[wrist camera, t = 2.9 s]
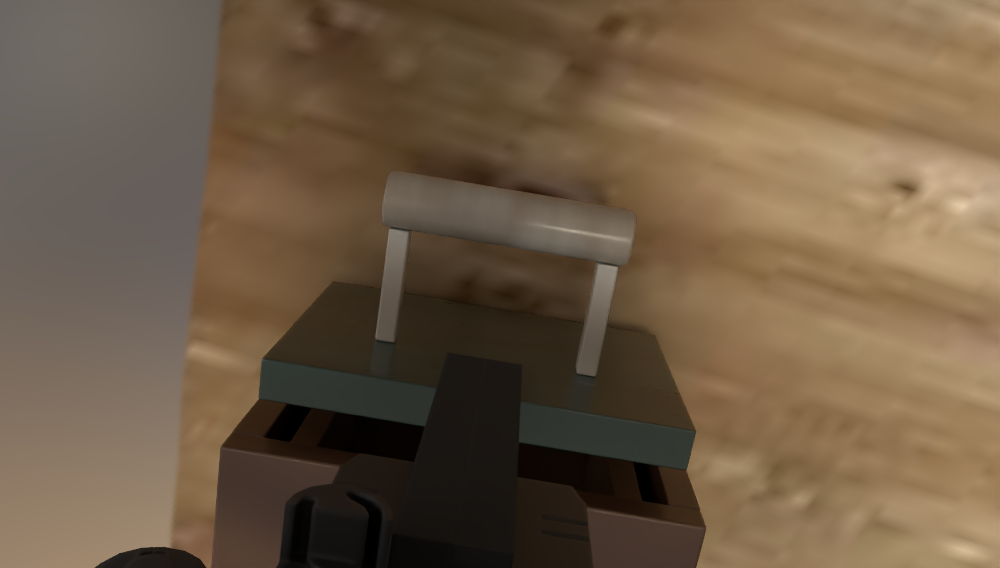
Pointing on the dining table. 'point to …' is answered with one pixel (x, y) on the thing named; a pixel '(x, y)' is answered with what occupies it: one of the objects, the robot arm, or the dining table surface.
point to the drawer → (487, 346)
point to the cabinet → (294, 467)
